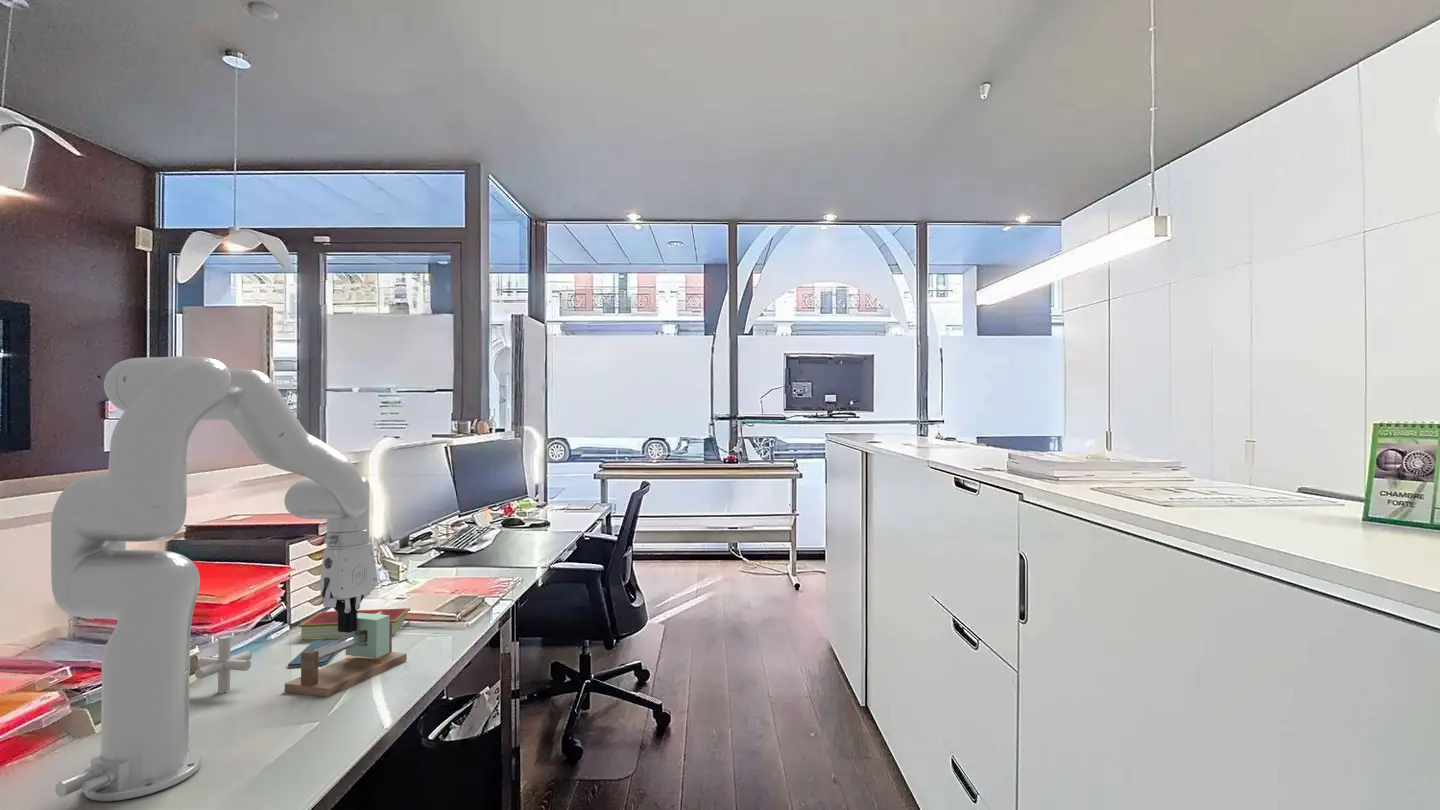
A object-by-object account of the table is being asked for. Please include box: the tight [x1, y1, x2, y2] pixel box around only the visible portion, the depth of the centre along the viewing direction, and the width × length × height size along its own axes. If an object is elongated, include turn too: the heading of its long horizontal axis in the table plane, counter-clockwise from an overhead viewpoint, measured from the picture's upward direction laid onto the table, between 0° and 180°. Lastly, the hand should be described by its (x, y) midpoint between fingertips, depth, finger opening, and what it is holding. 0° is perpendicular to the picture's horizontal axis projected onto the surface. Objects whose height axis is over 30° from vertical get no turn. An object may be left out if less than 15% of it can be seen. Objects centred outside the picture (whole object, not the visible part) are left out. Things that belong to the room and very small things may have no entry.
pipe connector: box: [194, 635, 253, 694], centre depth 128 cm, size 10×10×10 cm
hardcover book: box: [298, 607, 411, 641], centre depth 166 cm, size 12×21×4 cm, turn 99°
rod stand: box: [284, 623, 408, 698], centre depth 136 cm, size 20×10×8 cm, turn 164°
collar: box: [345, 613, 390, 658], centre depth 141 cm, size 4×8×8 cm, turn 74°
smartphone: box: [287, 638, 344, 669], centre depth 148 cm, size 8×2×15 cm
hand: (347, 630), depth 137 cm, fingers closed
